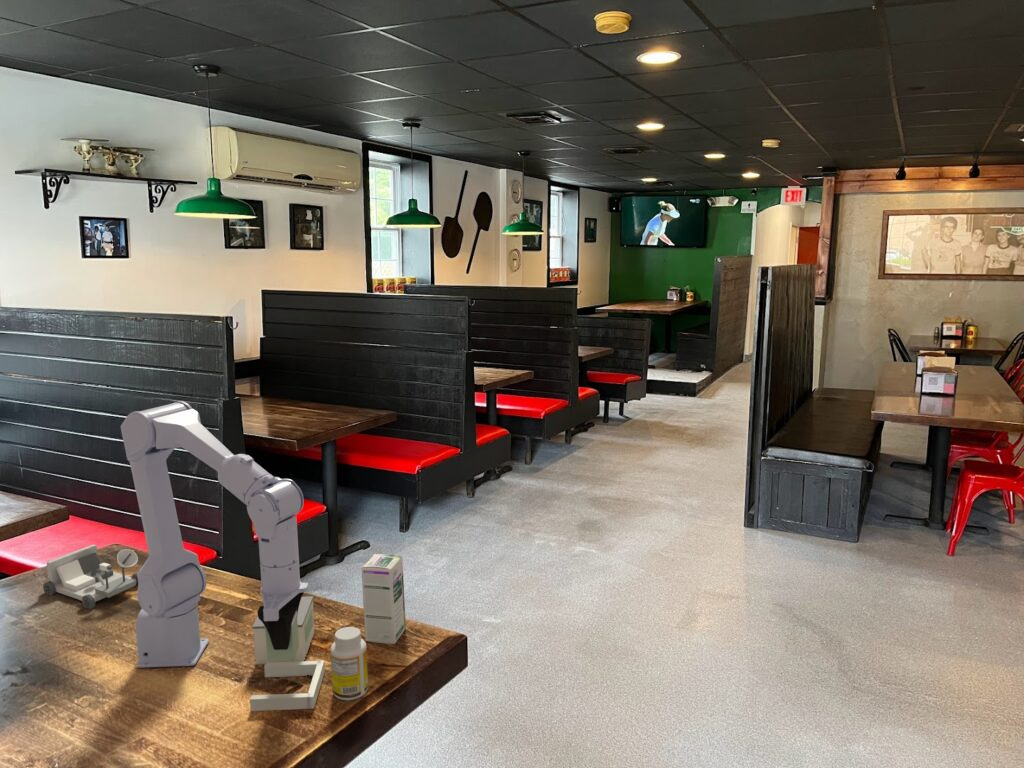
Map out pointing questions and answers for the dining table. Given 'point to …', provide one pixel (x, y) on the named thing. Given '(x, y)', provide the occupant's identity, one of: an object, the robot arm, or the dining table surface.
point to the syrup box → (383, 598)
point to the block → (292, 648)
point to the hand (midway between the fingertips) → (284, 640)
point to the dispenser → (304, 633)
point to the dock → (290, 699)
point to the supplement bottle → (349, 664)
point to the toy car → (89, 575)
